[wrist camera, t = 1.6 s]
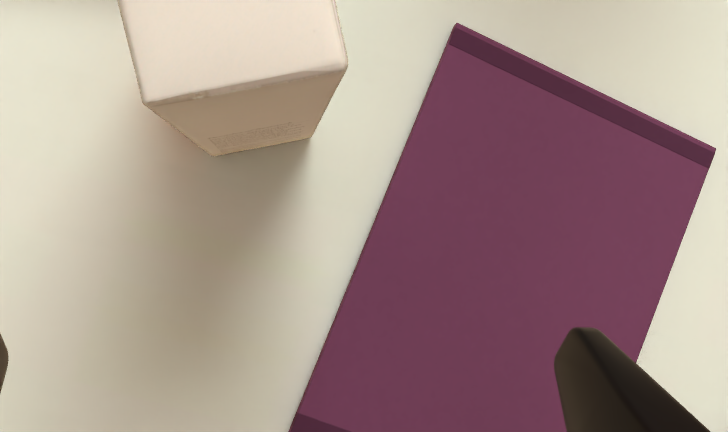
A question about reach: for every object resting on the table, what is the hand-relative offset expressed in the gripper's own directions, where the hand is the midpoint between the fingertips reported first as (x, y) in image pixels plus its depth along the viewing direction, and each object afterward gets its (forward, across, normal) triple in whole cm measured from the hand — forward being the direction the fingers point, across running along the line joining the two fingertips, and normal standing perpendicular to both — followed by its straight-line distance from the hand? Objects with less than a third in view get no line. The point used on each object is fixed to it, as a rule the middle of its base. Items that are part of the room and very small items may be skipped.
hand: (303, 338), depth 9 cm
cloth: (+10, -10, +9) cm, 17 cm away
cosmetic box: (+16, +2, +4) cm, 16 cm away
